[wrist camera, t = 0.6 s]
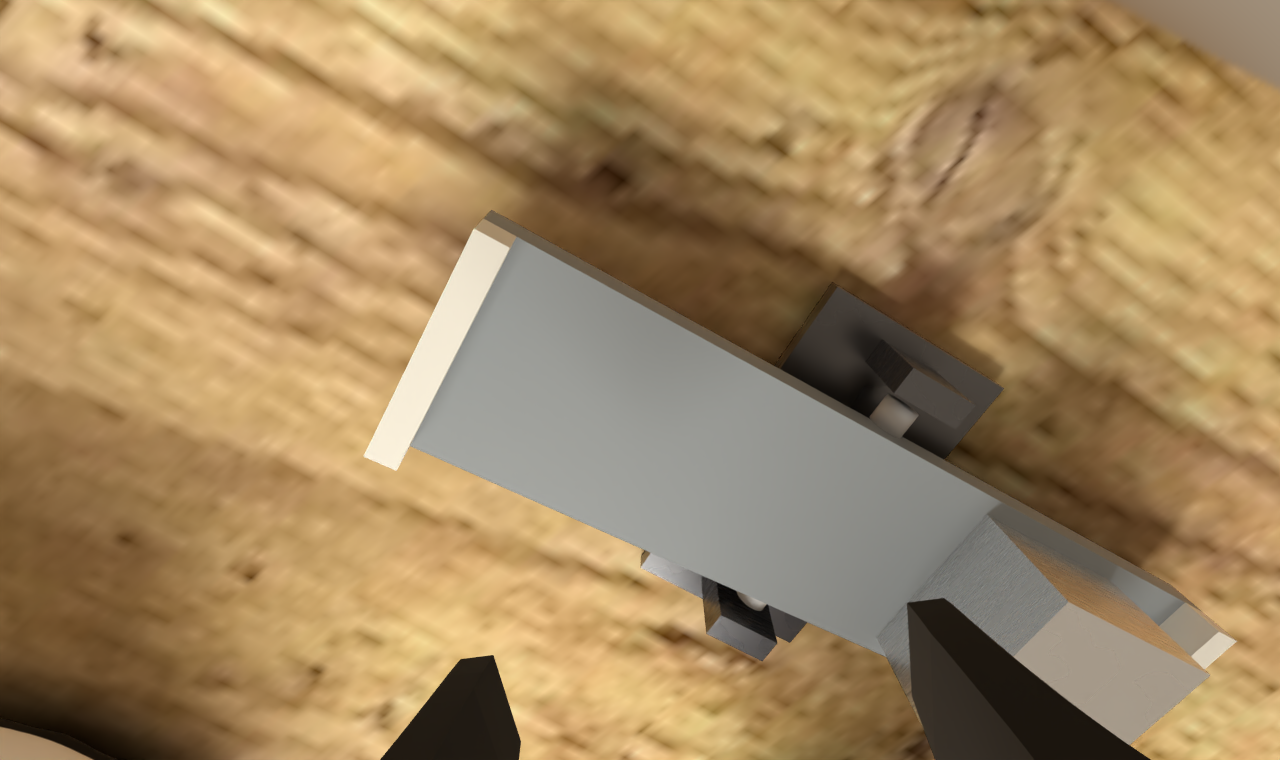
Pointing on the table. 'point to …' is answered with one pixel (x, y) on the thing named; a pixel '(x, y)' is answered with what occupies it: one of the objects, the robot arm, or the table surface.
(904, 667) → the steel weight
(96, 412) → the table surface
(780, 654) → the table surface
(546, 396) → the seesaw beam
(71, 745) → the milk container
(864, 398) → the pivot stand
